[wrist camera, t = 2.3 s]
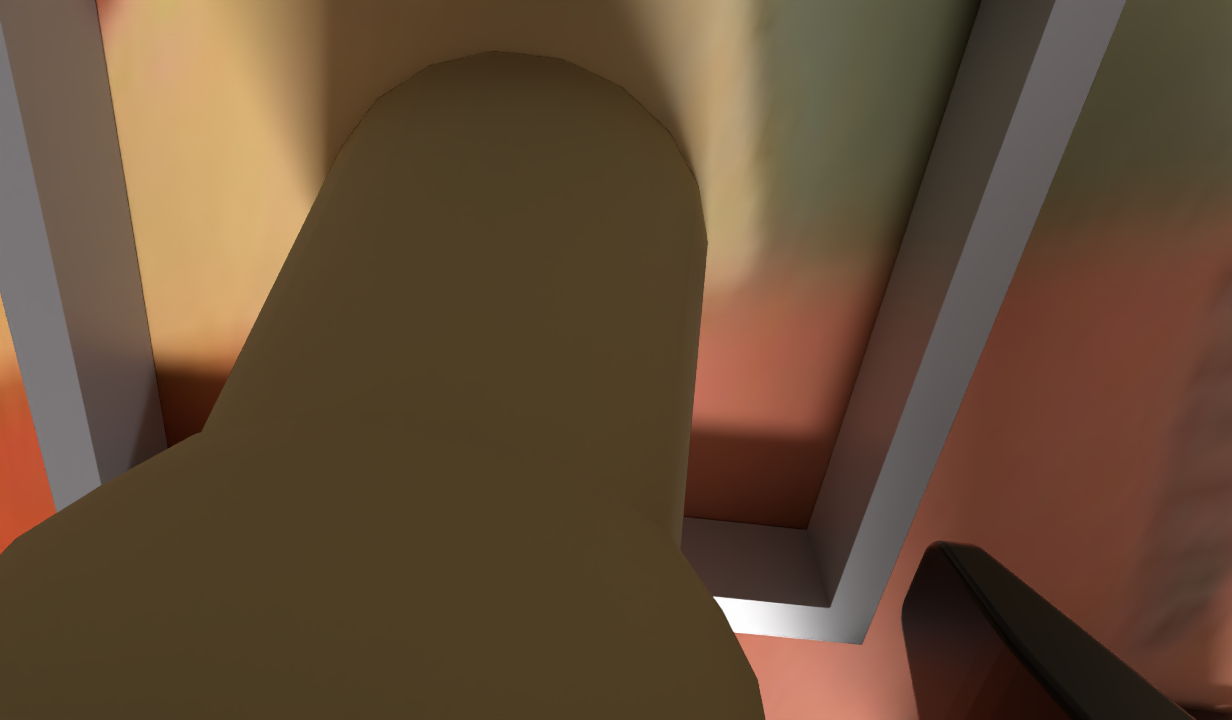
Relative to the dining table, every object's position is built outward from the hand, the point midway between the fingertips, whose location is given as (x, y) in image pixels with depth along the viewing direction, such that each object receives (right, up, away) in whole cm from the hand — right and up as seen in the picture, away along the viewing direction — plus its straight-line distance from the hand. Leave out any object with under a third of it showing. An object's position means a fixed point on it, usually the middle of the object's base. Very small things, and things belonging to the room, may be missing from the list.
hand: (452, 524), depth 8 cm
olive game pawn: (0, +3, +6) cm, 7 cm away
